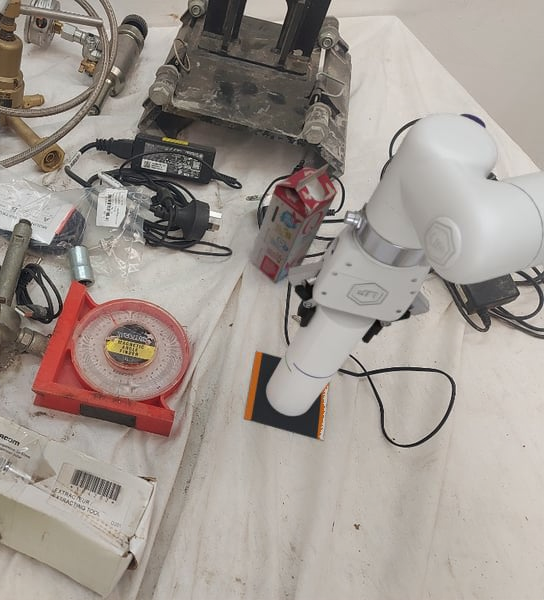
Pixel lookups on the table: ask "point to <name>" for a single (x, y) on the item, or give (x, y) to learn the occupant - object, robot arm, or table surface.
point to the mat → (266, 414)
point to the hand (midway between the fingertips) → (334, 324)
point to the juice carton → (292, 222)
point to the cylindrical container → (314, 358)
